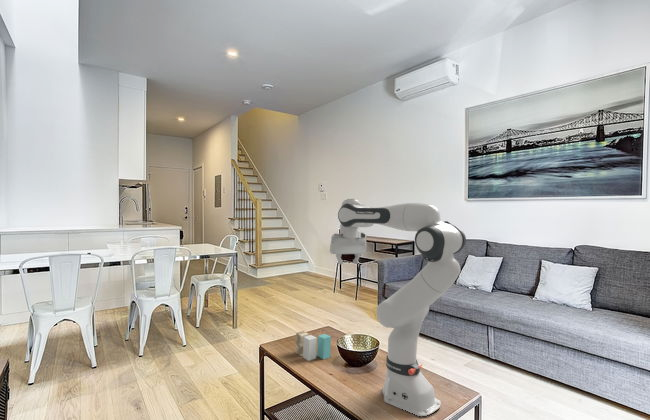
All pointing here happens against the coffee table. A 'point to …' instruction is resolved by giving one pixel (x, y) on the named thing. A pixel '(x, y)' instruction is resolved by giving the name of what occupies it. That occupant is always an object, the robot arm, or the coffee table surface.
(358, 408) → the coffee table surface
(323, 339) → the teal block
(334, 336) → the coffee table surface
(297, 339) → the beige carved figurine
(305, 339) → the grey block
